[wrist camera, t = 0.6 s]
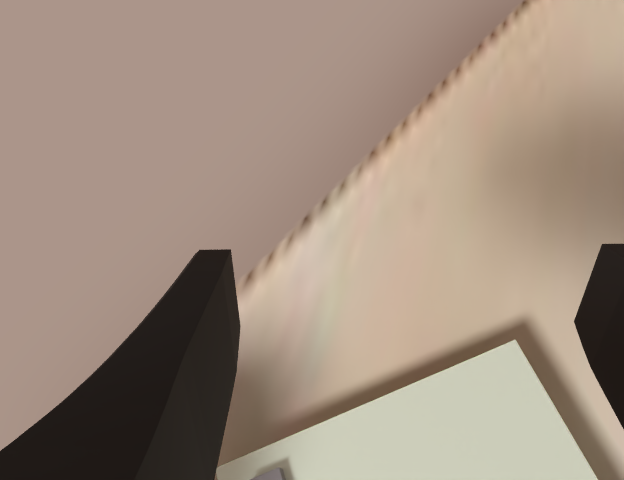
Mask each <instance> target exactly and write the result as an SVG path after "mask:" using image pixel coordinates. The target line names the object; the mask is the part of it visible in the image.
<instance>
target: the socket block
mask: <svg viewBox="0 0 624 480" xmlns="http://www.w3.org/2000/svg"><path fill="white" fill-rule="evenodd" d="M216 475H217V479H218V480H598V479H597V477H596V475H595V474H594V472H593V470H592V469H591V467H590V465H589V464H588V462H587V460H586V458H585V457H584V455H583V453H582V452H581V450H580V448H579V447H578V445H577V443H576V441H575V440H574V438H573V436H572V435H571V433H570V431H569V430H568V428H567V426H566V425H565V423H564V421H563V419H562V418H561V416H560V414H559V413H558V411H557V409H556V408H555V406H554V404H553V402H552V401H551V399H550V397H549V396H548V394H547V392H546V391H545V389H544V387H543V386H542V384H541V382H540V380H539V379H538V377H537V375H536V374H535V372H534V370H533V369H532V367H531V365H530V363H529V362H528V360H527V358H526V357H525V355H524V353H523V352H522V350H521V348H520V346H519V345H518V343H517V341H516V340H513V341H511V342H508V343H506V344H504V345H501V346H499V347H497V348H494V349H492V350H490V351H487V352H485V353H483V354H480V355H478V356H476V357H473V358H471V359H469V360H466V361H464V362H462V363H459V364H457V365H455V366H452V367H450V368H448V369H445V370H443V371H441V372H438V373H436V374H434V375H431V376H429V377H427V378H424V379H422V380H420V381H417V382H415V383H413V384H410V385H408V386H406V387H403V388H401V389H398V390H396V391H394V392H391V393H389V394H387V395H384V396H382V397H380V398H377V399H375V400H373V401H370V402H368V403H366V404H363V405H361V406H359V407H356V408H354V409H352V410H349V411H347V412H345V413H342V414H340V415H338V416H335V417H333V418H331V419H328V420H326V421H324V422H321V423H319V424H317V425H314V426H312V427H310V428H307V429H305V430H303V431H300V432H298V433H296V434H293V435H291V436H289V437H286V438H284V439H282V440H279V441H277V442H275V443H272V444H270V445H268V446H265V447H263V448H261V449H258V450H256V451H254V452H251V453H249V454H247V455H244V456H242V457H240V458H237V459H235V460H233V461H230V462H228V463H226V464H223V465H221V466H219V467H217V468H216Z"/></svg>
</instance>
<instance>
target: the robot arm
mask: <svg viewBox="0 0 624 480" xmlns="http://www.w3.org/2000/svg"><path fill="white" fill-rule="evenodd" d="M574 323H575V326H576V329H577V332H578V334H579V337H580V340H581V343H582V346H583V349H584V351H585V354H586V357H587V359H588V362H589V364H590V367H591V369H592V371H593V373H594V375H595V377H596V379H597V381H598V382H599V384H600V386H601V388H602V390H603V392H604V394H605V396H606V397H607V399H608V401H609V403H610V405H611V407H612V409H613V410H614V412H615V414H616V416H617V418H618V420H619V422H620V423H621V425H622V427H623V429H624V244H602V246H601V248H600V251H599V254H598V257H597V259H596V262H595V265H594V268H593V271H592V273H591V276H590V279H589V282H588V284H587V287H586V290H585V293H584V295H583V298H582V301H581V304H580V306H579V309H578V312H577V315H576V317H575V320H574ZM239 336H240V320H239V312H238V304H237V296H236V288H235V280H234V272H233V264H232V255H231V250H199V251H198V252H197V253H196V254H195V255H194V256H193V258H192V259H191V260H190V262H189V263H188V264H187V266H186V267H185V268H184V270H183V271H182V272H181V274H180V275H179V276H178V278H177V279H176V280H175V282H174V283H173V284H172V286H171V287H170V288H169V289H168V291H167V292H166V293H165V294H164V296H163V297H162V298H161V299H160V301H159V302H158V303H157V304H156V305H155V307H154V308H153V309H152V310H151V312H150V313H149V314H148V315H147V316H146V317H145V319H144V320H143V321H142V322H141V323H140V324H139V326H138V327H137V328H136V329H135V330H134V331H133V332H132V333H131V334H130V335H129V337H128V338H127V339H126V340H125V341H124V342H123V343H122V344H121V345H120V346H119V347H118V348H117V349H116V350H115V352H114V353H113V354H112V355H111V356H110V357H109V358H108V359H107V360H106V361H105V362H104V363H103V364H102V365H101V366H100V367H99V368H98V369H97V370H96V371H95V372H94V373H93V374H92V375H91V376H90V377H89V378H88V379H87V380H85V381H84V382H83V383H82V384H81V385H80V386H79V387H78V388H77V389H76V390H75V391H74V392H73V393H71V394H70V395H69V396H68V397H67V398H66V399H65V400H63V401H62V402H61V403H60V404H59V405H58V406H56V407H55V408H54V409H53V410H52V411H50V412H49V413H48V414H47V415H46V416H44V417H43V418H42V419H41V420H39V421H38V422H37V423H36V424H34V425H33V426H32V427H30V428H29V429H28V430H27V431H25V432H24V433H23V434H22V435H20V436H19V437H18V438H17V439H15V440H14V441H13V442H12V443H10V444H9V445H8V446H6V447H5V448H4V449H2V450H1V451H0V480H214V478H215V473H216V468H217V464H218V459H219V454H220V449H221V445H222V440H223V435H224V430H225V425H226V421H227V416H228V411H229V406H230V401H231V396H232V391H233V387H234V382H235V376H236V371H237V360H238V349H239Z"/></svg>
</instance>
